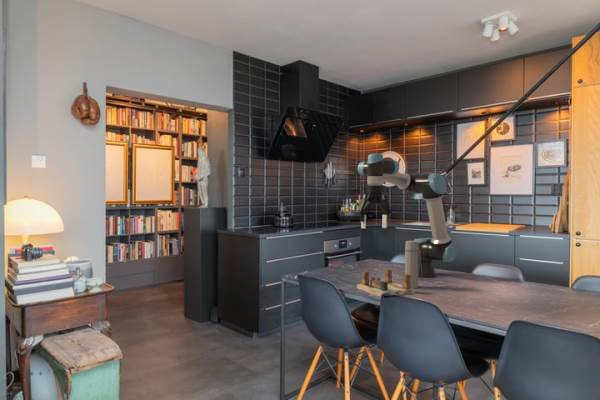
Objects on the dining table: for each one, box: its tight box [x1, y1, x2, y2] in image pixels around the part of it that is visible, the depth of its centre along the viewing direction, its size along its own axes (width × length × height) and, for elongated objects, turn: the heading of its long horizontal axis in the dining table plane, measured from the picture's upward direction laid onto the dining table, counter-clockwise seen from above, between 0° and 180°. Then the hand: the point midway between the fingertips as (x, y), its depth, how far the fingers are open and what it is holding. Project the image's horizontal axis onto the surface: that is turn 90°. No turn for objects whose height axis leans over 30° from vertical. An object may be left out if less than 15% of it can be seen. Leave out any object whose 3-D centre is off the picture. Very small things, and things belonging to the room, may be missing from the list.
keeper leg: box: [369, 276, 388, 291], centre depth 198 cm, size 3×13×4 cm, turn 24°
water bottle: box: [404, 240, 423, 289], centre depth 210 cm, size 9×8×25 cm
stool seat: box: [356, 268, 416, 298], centre depth 203 cm, size 21×21×9 cm
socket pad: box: [371, 287, 399, 293], centre depth 196 cm, size 10×10×1 cm
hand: (374, 228), depth 193 cm, fingers open, 13 cm apart
